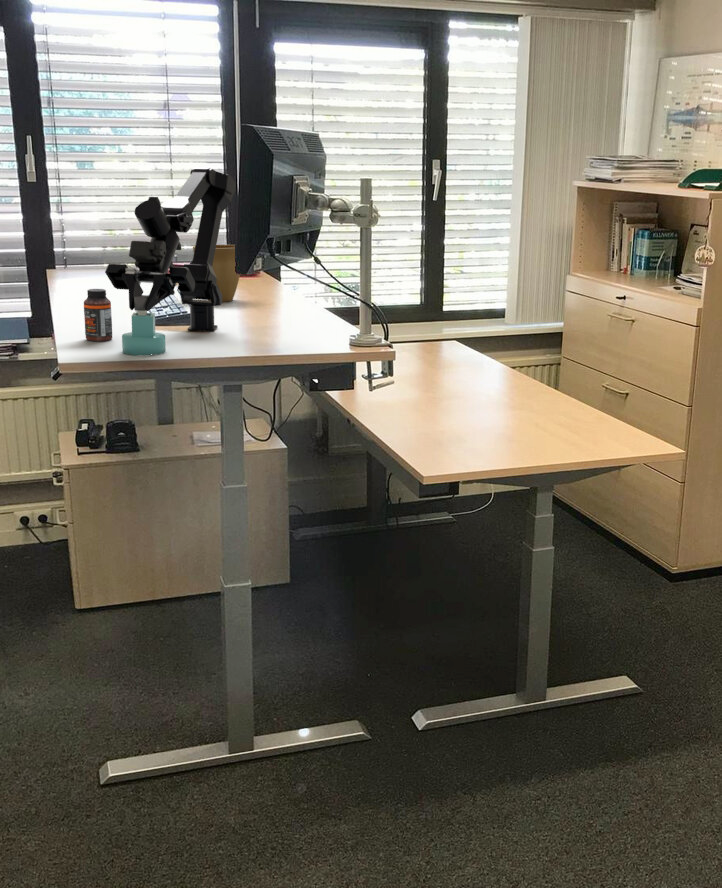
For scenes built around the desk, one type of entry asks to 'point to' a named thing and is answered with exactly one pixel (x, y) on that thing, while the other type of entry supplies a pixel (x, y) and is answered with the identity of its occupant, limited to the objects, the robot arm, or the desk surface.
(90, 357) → the desk surface
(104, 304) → the supplement bottle
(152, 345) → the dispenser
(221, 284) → the plant pot
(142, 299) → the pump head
